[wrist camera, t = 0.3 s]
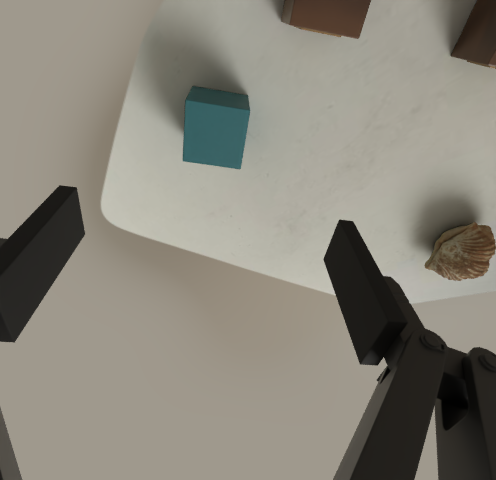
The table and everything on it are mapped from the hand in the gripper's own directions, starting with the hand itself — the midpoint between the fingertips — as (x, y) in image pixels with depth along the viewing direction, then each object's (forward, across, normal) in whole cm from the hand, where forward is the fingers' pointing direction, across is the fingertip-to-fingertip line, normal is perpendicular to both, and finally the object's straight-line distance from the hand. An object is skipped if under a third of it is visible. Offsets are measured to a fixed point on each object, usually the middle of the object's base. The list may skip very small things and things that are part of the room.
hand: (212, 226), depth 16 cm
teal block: (+23, -1, -1) cm, 23 cm away
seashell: (+23, +35, -13) cm, 44 cm away
